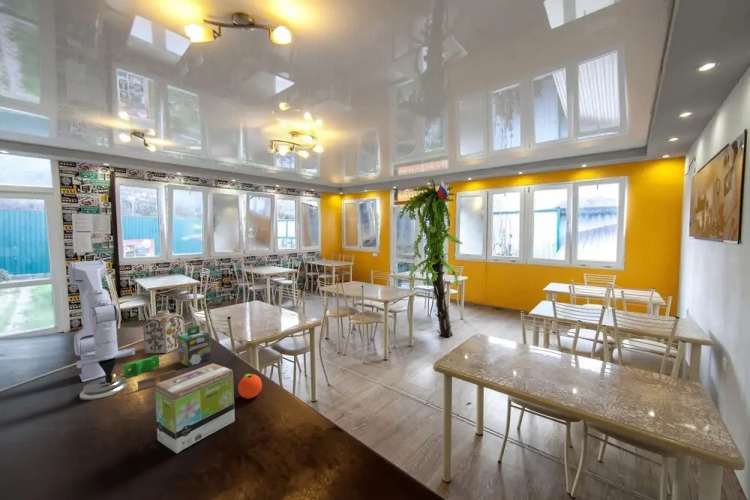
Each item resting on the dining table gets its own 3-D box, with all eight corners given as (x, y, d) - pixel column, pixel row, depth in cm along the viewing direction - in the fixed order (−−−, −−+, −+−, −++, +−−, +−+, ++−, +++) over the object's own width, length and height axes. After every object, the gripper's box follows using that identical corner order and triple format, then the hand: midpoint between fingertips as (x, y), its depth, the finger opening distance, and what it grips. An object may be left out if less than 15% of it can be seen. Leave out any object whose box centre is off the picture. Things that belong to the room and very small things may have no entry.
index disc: (75, 393, 101) (74, 380, 100) (107, 379, 110) (106, 367, 110) (100, 395, 99) (99, 381, 99) (130, 380, 109) (129, 368, 108)
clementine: (233, 396, 97) (232, 374, 97) (254, 388, 102) (253, 367, 102) (244, 405, 92) (243, 382, 91) (266, 396, 97) (265, 373, 96)
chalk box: (201, 355, 134) (199, 321, 134) (211, 359, 129) (209, 324, 128) (178, 362, 127) (175, 327, 126) (188, 367, 121) (185, 330, 121)
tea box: (177, 455, 71) (173, 393, 71) (157, 441, 77) (152, 383, 76) (236, 421, 84) (233, 368, 83) (215, 411, 89) (212, 361, 89)
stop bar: (138, 390, 104) (137, 381, 104) (175, 377, 112) (174, 369, 112) (139, 391, 103) (138, 382, 103) (176, 378, 112) (175, 370, 112)
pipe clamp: (128, 379, 113) (127, 367, 113) (124, 377, 115) (123, 365, 115) (162, 367, 123) (161, 356, 123) (158, 365, 125) (157, 354, 125)
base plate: (77, 392, 104) (77, 389, 104) (122, 379, 113) (122, 376, 113) (82, 404, 96) (81, 401, 96) (130, 388, 105) (130, 386, 105)
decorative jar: (143, 353, 139) (140, 314, 138) (165, 344, 151) (162, 308, 150) (166, 354, 137) (164, 314, 136) (186, 344, 149) (184, 308, 148)
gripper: (76, 350, 94) (80, 394, 94) (135, 337, 105) (138, 377, 105) (74, 346, 99) (78, 388, 99) (131, 334, 110) (134, 372, 110)
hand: (109, 382), depth 102 cm, fingers closed, pressing on index disc
